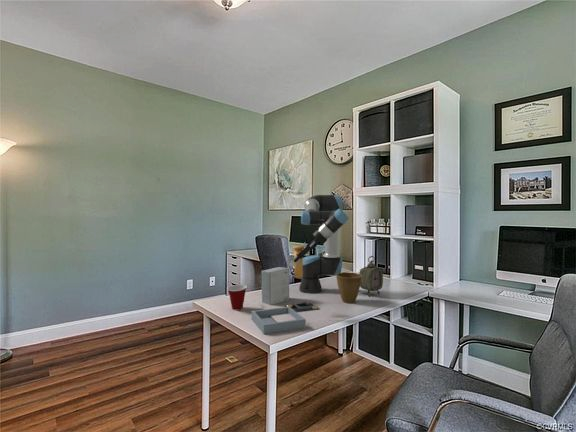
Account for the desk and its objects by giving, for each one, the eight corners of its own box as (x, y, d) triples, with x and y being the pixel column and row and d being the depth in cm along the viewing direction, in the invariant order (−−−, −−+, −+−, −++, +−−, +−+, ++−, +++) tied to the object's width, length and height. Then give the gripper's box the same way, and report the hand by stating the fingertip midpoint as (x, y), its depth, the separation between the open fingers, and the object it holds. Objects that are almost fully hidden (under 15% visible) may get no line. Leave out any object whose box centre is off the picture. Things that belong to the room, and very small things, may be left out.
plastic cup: (223, 307, 168) (223, 286, 168) (240, 304, 175) (240, 283, 175) (233, 313, 160) (233, 290, 160) (250, 309, 167) (250, 287, 166)
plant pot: (331, 299, 186) (331, 273, 186) (352, 296, 192) (352, 271, 191) (344, 306, 172) (345, 278, 172) (366, 303, 178) (366, 276, 178)
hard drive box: (280, 299, 185) (281, 266, 185) (289, 302, 180) (290, 268, 180) (261, 304, 174) (261, 270, 174) (269, 307, 169) (270, 272, 169)
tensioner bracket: (310, 305, 173) (310, 300, 173) (320, 312, 162) (320, 306, 162) (284, 308, 167) (284, 303, 167) (292, 315, 156) (292, 310, 156)
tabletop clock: (370, 298, 189) (370, 257, 189) (358, 295, 196) (358, 256, 196) (382, 294, 199) (383, 255, 199) (370, 291, 206) (371, 254, 205)
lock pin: (301, 275, 163) (301, 245, 163) (305, 277, 158) (305, 246, 157) (291, 276, 161) (291, 246, 161) (295, 278, 155) (295, 247, 155)
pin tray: (288, 314, 159) (288, 306, 159) (305, 327, 140) (305, 319, 140) (251, 319, 151) (251, 311, 151) (263, 334, 133) (263, 325, 133)
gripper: (326, 240, 147) (293, 273, 151) (329, 238, 164) (299, 267, 168) (315, 229, 148) (282, 262, 152) (319, 228, 165) (289, 257, 169)
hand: (291, 264), depth 160 cm, fingers closed on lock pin, 4 cm apart
